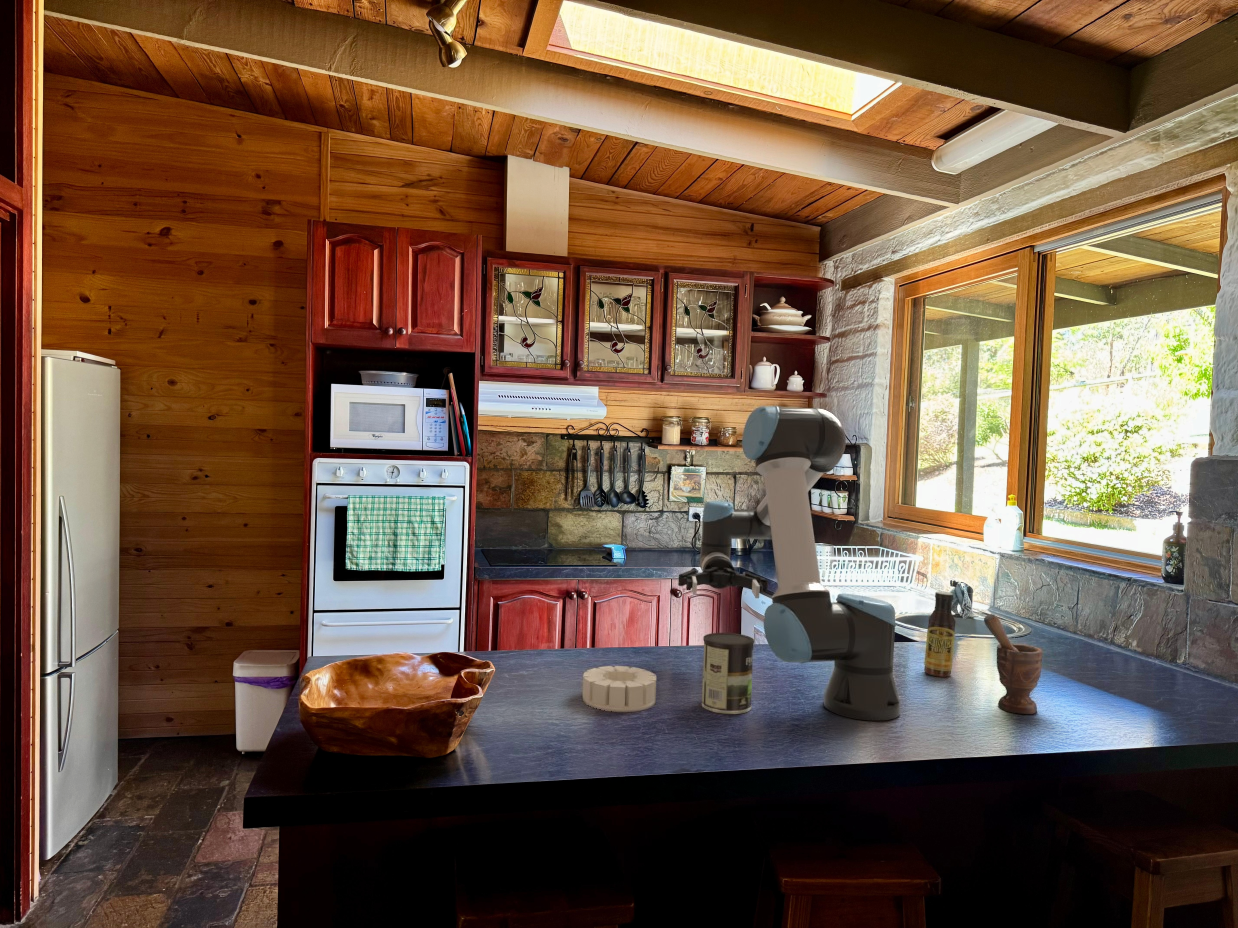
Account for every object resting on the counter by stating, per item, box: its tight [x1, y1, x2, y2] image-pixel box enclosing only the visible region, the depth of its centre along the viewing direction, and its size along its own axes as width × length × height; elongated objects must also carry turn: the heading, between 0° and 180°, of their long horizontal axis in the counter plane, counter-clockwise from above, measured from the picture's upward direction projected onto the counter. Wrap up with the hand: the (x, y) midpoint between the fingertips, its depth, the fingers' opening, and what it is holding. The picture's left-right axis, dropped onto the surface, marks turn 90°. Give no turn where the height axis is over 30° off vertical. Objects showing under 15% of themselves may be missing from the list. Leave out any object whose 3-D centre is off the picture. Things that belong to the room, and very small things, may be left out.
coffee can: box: [701, 632, 755, 715], centre depth 168 cm, size 10×10×14 cm
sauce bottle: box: [923, 591, 956, 678], centre depth 197 cm, size 7×6×20 cm
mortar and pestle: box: [983, 613, 1043, 715], centre depth 172 cm, size 12×9×20 cm
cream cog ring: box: [581, 665, 657, 713], centre depth 169 cm, size 15×15×5 cm
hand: (726, 590), depth 178 cm, fingers open, 13 cm apart
